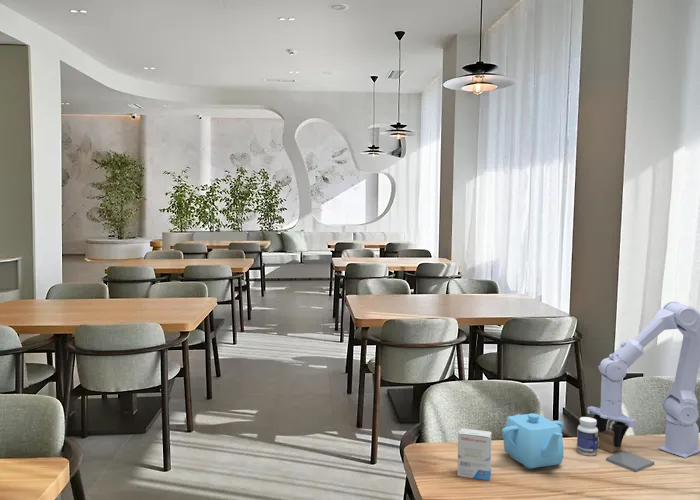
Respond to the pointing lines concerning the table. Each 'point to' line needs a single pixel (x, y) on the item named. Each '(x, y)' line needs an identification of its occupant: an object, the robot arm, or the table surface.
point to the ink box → (474, 454)
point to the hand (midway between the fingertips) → (609, 443)
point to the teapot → (533, 440)
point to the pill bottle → (587, 436)
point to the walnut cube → (607, 441)
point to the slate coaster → (630, 461)
